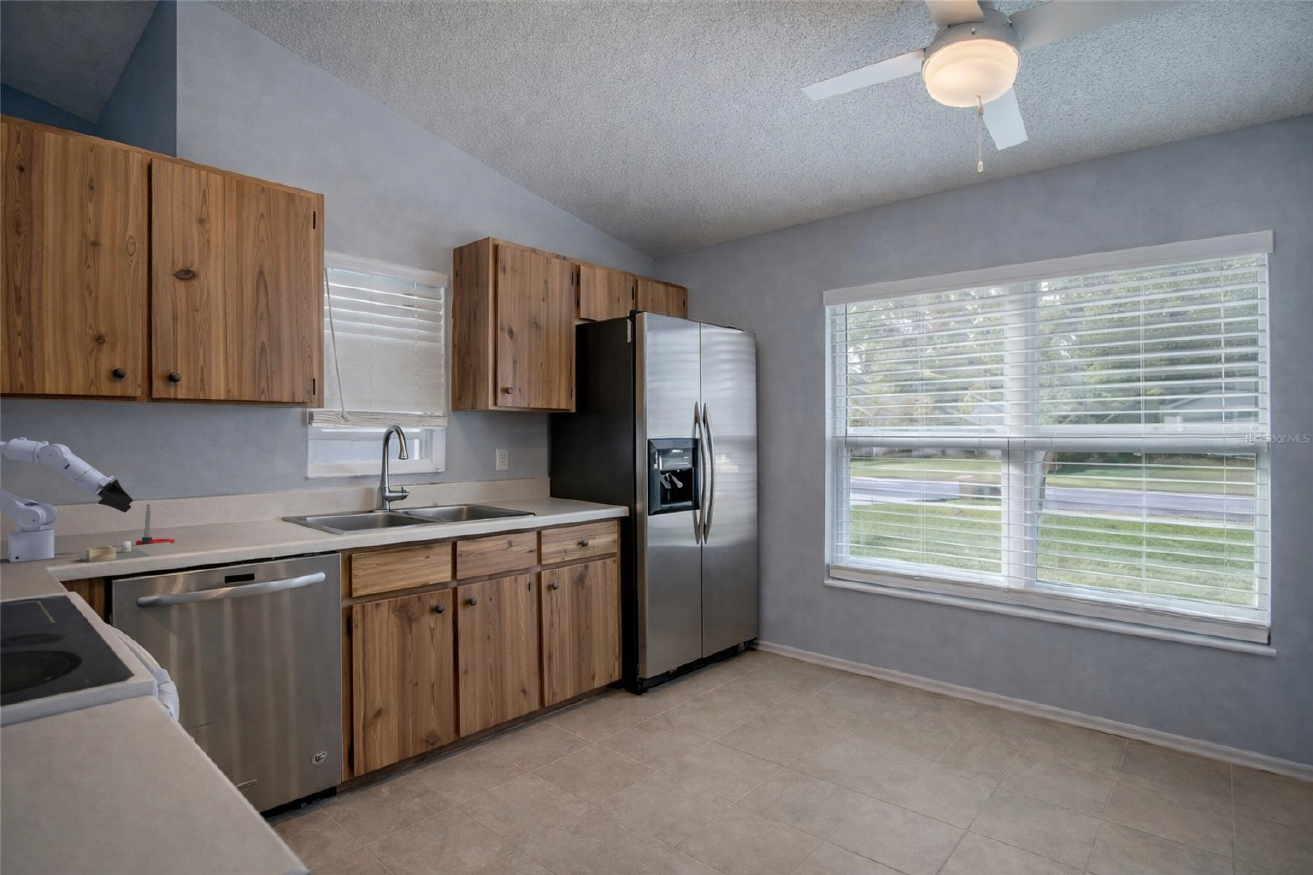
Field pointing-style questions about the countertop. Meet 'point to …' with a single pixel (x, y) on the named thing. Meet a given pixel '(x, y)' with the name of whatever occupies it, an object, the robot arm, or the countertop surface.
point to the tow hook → (147, 538)
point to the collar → (100, 553)
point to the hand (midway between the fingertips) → (129, 506)
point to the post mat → (122, 553)
